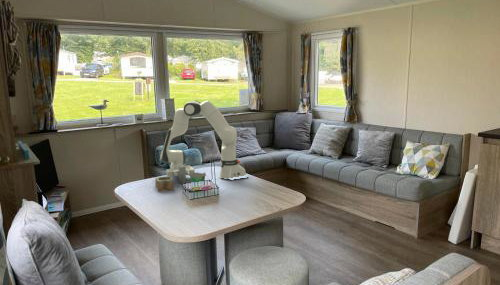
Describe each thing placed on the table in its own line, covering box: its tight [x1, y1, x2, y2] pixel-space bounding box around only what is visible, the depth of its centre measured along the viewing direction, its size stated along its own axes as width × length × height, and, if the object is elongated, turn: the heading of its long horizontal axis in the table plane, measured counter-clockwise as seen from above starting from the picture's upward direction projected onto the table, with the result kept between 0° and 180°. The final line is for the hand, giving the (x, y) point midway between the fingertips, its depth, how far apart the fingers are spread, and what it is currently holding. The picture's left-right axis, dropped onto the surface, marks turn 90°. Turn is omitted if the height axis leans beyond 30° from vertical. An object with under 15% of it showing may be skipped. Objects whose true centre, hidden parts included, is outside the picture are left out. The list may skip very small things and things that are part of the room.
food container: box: [188, 171, 207, 183], centre depth 257 cm, size 12×6×10 cm, turn 73°
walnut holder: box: [154, 175, 175, 192], centre depth 254 cm, size 10×14×6 cm
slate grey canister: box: [178, 166, 187, 185], centre depth 265 cm, size 5×5×12 cm
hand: (182, 174), depth 264 cm, fingers open, 6 cm apart
